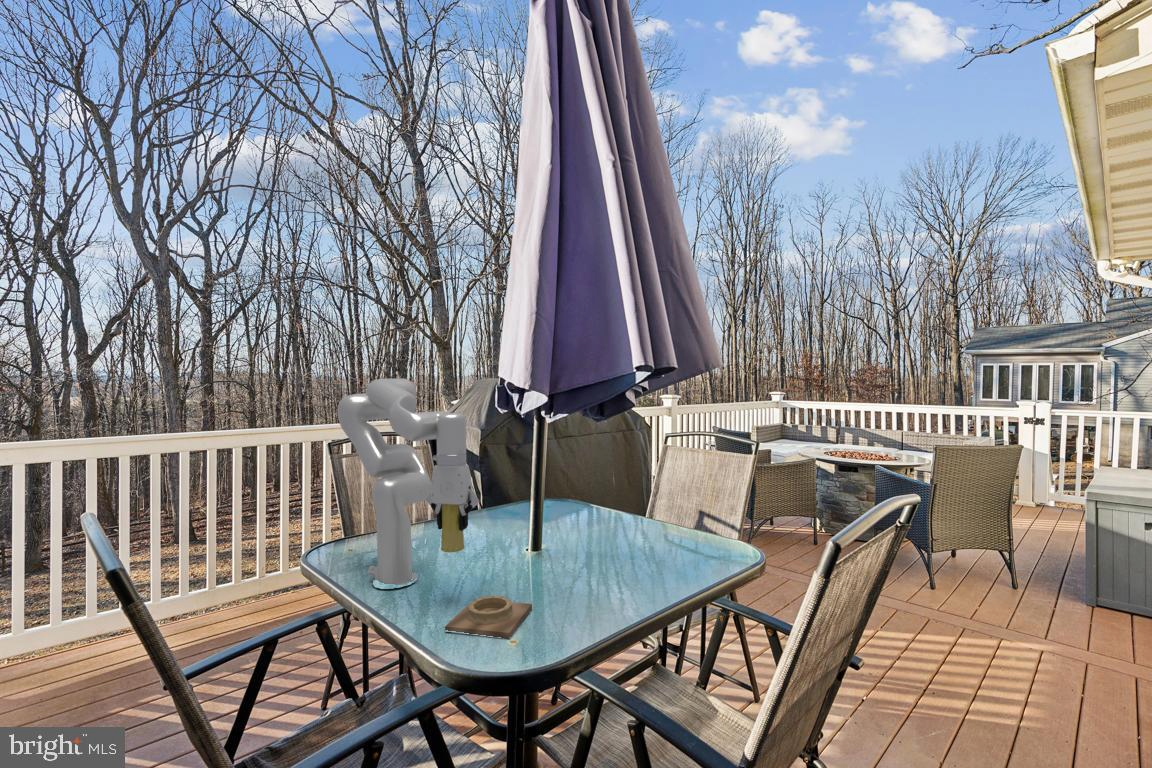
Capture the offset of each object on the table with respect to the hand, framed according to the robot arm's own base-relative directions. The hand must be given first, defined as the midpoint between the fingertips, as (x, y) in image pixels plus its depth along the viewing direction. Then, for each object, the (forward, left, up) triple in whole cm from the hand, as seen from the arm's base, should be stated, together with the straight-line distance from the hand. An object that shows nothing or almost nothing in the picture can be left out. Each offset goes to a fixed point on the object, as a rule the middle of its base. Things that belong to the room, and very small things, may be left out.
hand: (452, 527), depth 141 cm
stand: (+13, -7, -20) cm, 25 cm away
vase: (0, 0, -6) cm, 6 cm away
